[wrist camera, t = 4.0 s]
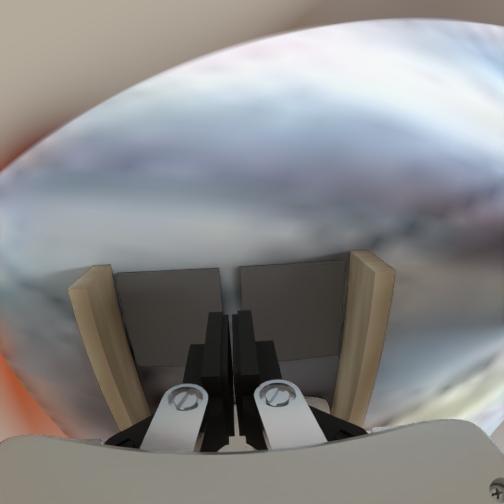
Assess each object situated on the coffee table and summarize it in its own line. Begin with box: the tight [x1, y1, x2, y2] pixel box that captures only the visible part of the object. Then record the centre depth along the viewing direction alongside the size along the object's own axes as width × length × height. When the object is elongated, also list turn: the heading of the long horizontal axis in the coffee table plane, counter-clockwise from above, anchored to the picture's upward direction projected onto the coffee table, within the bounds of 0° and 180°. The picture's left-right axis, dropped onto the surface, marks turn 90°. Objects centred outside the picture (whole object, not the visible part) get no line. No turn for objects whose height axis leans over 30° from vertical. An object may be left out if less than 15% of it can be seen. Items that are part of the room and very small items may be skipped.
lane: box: [68, 250, 396, 432], centre depth 17 cm, size 14×30×4 cm, turn 2°
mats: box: [115, 260, 346, 366], centre depth 15 cm, size 11×6×1 cm, turn 92°
